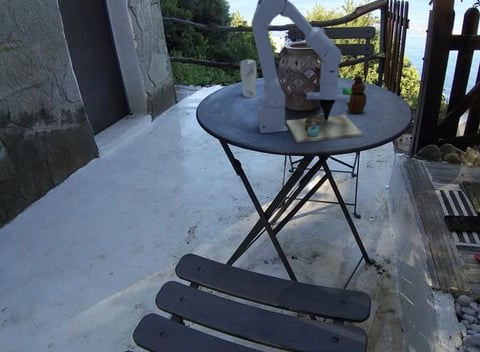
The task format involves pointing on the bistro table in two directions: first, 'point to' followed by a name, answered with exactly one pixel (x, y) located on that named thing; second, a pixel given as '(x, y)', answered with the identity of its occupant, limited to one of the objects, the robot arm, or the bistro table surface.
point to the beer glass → (248, 77)
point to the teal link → (315, 127)
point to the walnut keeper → (313, 119)
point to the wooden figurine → (357, 96)
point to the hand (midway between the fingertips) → (326, 119)
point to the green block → (346, 91)
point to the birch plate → (325, 129)
